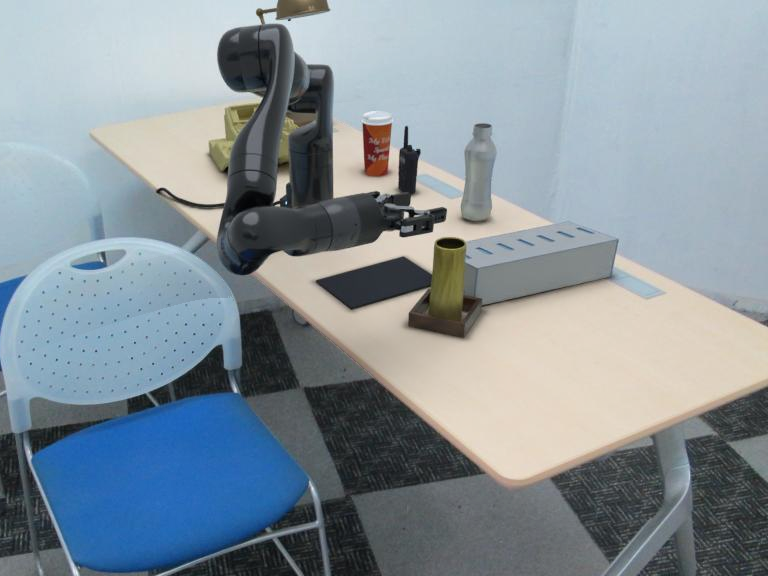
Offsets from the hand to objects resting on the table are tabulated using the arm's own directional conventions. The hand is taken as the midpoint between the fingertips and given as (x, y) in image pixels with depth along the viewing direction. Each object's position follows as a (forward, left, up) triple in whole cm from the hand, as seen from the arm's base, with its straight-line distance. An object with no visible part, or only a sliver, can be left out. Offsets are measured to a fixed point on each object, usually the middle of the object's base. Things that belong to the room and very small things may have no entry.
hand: (426, 206), depth 134 cm
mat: (-13, +14, -22) cm, 29 cm away
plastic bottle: (-6, +50, -22) cm, 55 cm away
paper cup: (-37, +69, -22) cm, 81 cm away
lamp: (-78, +103, -22) cm, 131 cm away
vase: (+3, +5, -22) cm, 23 cm away
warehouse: (+11, +26, -22) cm, 36 cm away
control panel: (-69, +64, -22) cm, 97 cm away
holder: (+3, +5, -22) cm, 23 cm away
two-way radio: (-25, +60, -22) cm, 69 cm away
